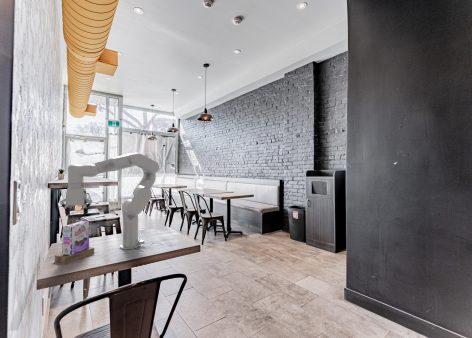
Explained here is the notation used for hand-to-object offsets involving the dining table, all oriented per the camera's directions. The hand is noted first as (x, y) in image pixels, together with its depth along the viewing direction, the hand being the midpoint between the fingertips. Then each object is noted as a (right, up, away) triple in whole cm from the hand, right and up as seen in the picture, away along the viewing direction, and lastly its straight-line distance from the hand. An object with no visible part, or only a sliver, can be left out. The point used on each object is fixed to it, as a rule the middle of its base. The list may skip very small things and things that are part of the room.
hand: (76, 214), depth 140 cm
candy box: (0, -22, 0) cm, 22 cm away
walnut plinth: (-1, -26, 0) cm, 25 cm away
